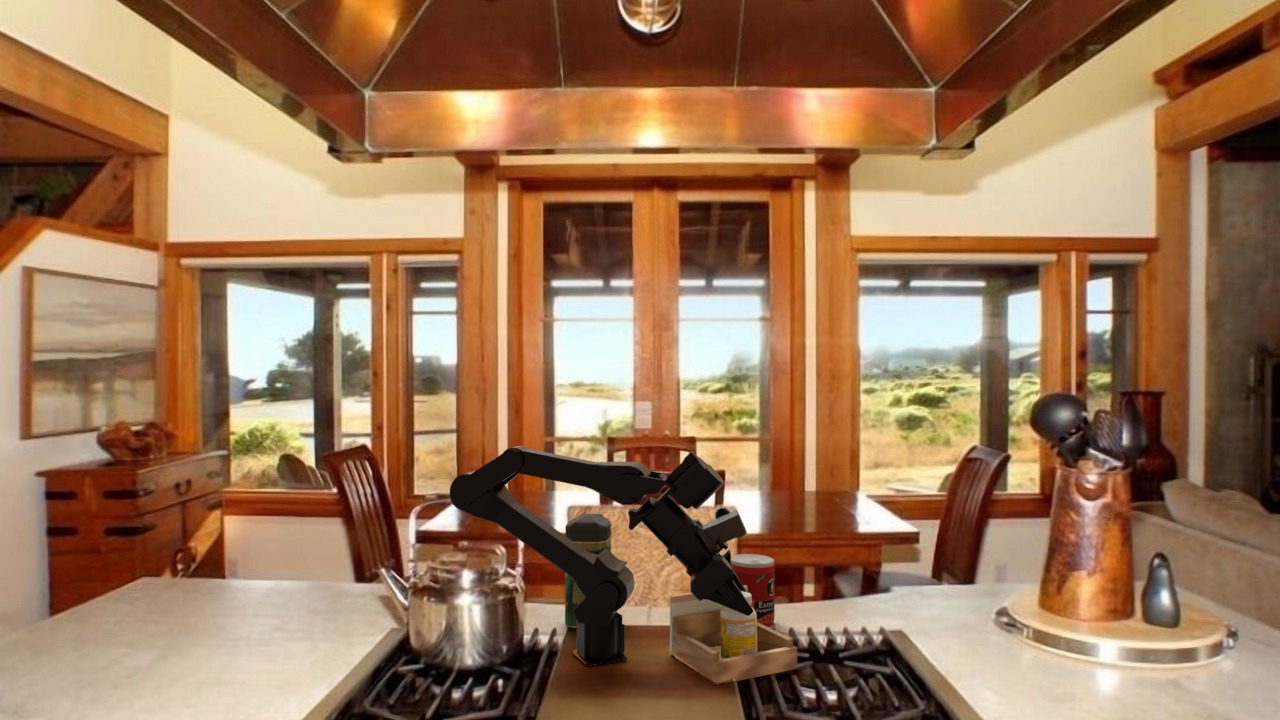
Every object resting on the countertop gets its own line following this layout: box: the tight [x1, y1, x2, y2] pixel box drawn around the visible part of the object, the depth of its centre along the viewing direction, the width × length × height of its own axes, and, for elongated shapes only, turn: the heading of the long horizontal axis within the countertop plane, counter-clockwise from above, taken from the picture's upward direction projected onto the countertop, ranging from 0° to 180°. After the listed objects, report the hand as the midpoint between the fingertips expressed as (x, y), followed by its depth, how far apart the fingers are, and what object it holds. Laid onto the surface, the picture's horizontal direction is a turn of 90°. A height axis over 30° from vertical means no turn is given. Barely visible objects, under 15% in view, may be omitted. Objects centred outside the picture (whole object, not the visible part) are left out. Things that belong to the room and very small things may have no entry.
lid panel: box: [669, 585, 748, 652], centre depth 119 cm, size 14×1×9 cm, turn 117°
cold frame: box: [673, 607, 798, 683], centre depth 113 cm, size 14×12×6 cm
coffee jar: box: [564, 513, 612, 628], centre depth 131 cm, size 10×8×19 cm
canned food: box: [731, 553, 776, 628], centre depth 133 cm, size 8×8×11 cm
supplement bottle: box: [720, 591, 757, 659], centre depth 112 cm, size 5×5×10 cm
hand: (749, 606), depth 112 cm, fingers open, 6 cm apart
